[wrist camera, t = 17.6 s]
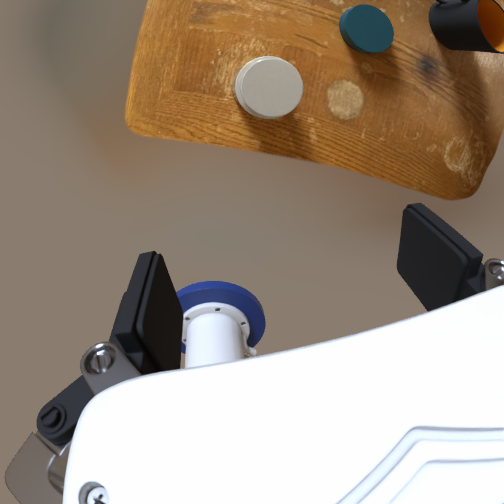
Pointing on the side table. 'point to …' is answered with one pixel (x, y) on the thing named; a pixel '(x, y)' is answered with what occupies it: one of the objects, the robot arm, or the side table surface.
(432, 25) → the mug
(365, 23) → the jar lid
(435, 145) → the side table surface
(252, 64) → the jar
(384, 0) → the side table surface
